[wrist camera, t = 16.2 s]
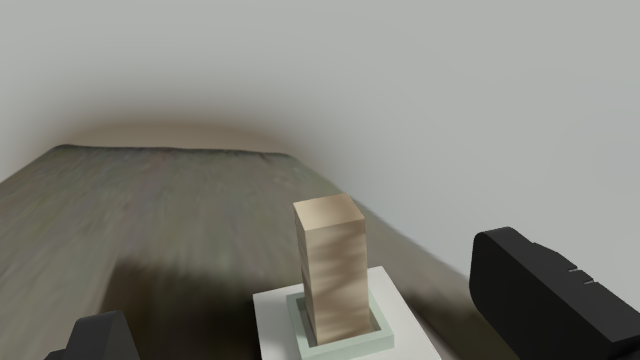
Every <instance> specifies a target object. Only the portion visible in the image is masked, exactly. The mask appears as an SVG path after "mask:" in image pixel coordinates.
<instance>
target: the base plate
mask: <svg viewBox="0 0 640 360" xmlns="http://www.w3.org/2000/svg"><path fill="white" fill-rule="evenodd" d="M367 275H368V297H369V319H370V333H368V334H364V335H360V336H356V337H352V338H348V339H344V340H340V341H336V342H332V343H328V344H324V345H320V346H317V345H316V341H315V338H314V335H313V332H312V329H311V326H310V323H309V319H308V316H307V310H306V302H305V294H304V286H303V283H302V284H298V285H293V286H289V287H284V288H280V289H276V290H271V291H267V292H262V293H258V294H253V300H254V307H255V314H256V320H257V327H258V334H259V341H260V348H261V355H262V360H442V359H441V358H440V356H439V354H438V353H437V351H436V350H435V348H434V347H433V345H432V343H431V342H430V340H429V339H428V337H427V336H426V334H425V333H424V331H423V329H422V328H421V326H420V325H419V323H418V322H417V320H416V318H415V317H414V315H413V314H412V312H411V311H410V309H409V308H408V306H407V304H406V303H405V301H404V300H403V298H402V297H401V295H400V294H399V292H398V290H397V289H396V287H395V286H394V284H393V283H392V281H391V279H390V278H389V276H388V275H387V273H386V272H385V270H384V269H383V267H382V266H379V267H374V268H370V269H367Z"/></svg>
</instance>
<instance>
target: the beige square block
mask: <svg viewBox="0 0 640 360" xmlns="http://www.w3.org/2000/svg"><path fill="white" fill-rule="evenodd" d="M293 206H294V214H295V222H296V230H297V238H298V246H299V254H300V262H301V270H302V278H303V286H304V294H305V302H306V310H307V316H308V319H309V323H310V326H311V329H312V332H313V335H314V338H315V341H316V345H317V346H320V345H324V344H328V343H332V342H336V341H340V340H344V339H348V338H352V337H356V336H360V335H364V334H368V333H370V319H369V297H368V275H367V253H366V231H365V218H364V217H363V215H362V214H361V212H360V211H359V210H358V208H357V207H356V205H355V204H354V203H353V201H352V200H351V198H350V197H349V196H348V194H347V193H343V194H338V195H333V196H327V197H322V198H317V199H312V200H306V201H301V202H296V203H293Z"/></svg>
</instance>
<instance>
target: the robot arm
mask: <svg viewBox="0 0 640 360" xmlns="http://www.w3.org/2000/svg"><path fill="white" fill-rule="evenodd" d="M469 289H470V294H471V298H472V300H473V302H474V304H475V306H476V308H477V309H478V311H479V312H480V313H481V314H482V315H483V316H484V318H485V319H486V320H487V321H488V322H489V323H490V325H491V326H492V327H493V328H494V329H495V330H496V332H497V333H498V334H499V335H500V336H501V337H502V338H503V340H504V341H505V342H506V343H507V344H508V345H509V347H510V348H511V349H512V350H513V351H514V352H515V354H516V355H517V356H518V357H519V358H520V359H521V360H640V313H639V312H638V311H636V310H635V309H633V308H632V307H631V306H629V305H628V304H626V303H625V302H624V301H623V300H621V299H620V298H619V297H617V296H616V295H614V294H613V293H612V292H610V291H609V290H608V289H607V288H605V287H604V286H603V285H601V284H600V283H598V282H594V280H593V278H591V277H590V276H589V275H588V274H586V273H585V272H583V271H582V270H578V268H577V266H576V265H574V264H573V263H571V262H570V261H569V260H567V259H566V258H565V257H563V256H562V255H561V254H559V253H558V252H555V251H553V250H551V249H548V248H546V247H544V246H542V245H539V244H537V243H532V242H530V241H529V240H528V239H526V238H525V237H524V236H522V235H521V234H520V233H518V232H517V231H516V230H515V229H513V228H511V227H503V228H498V229H494V230H489V231H485V232H480V233H478V234H477V235H476V236H475V238H474V243H473V251H472V261H471V271H470V280H469ZM44 360H140V358H139V356H138V353H137V350H136V347H135V344H134V342H133V339H132V336H131V333H130V330H129V328H128V325H127V322H126V319H125V317H124V315H123V313H122V312H121V311H120V310H116V311H112V312H107V313H102V314H98V315H93V316H89V317H84V318H80V319H78V320H77V321H76V323H75V325H74V328H73V330H72V333H71V336H70V338H69V341H68V344H67V346H66V349H62V350H58V351H54V352H50V353H49V354H48V356H47V357H46V358H45V359H44Z"/></svg>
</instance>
